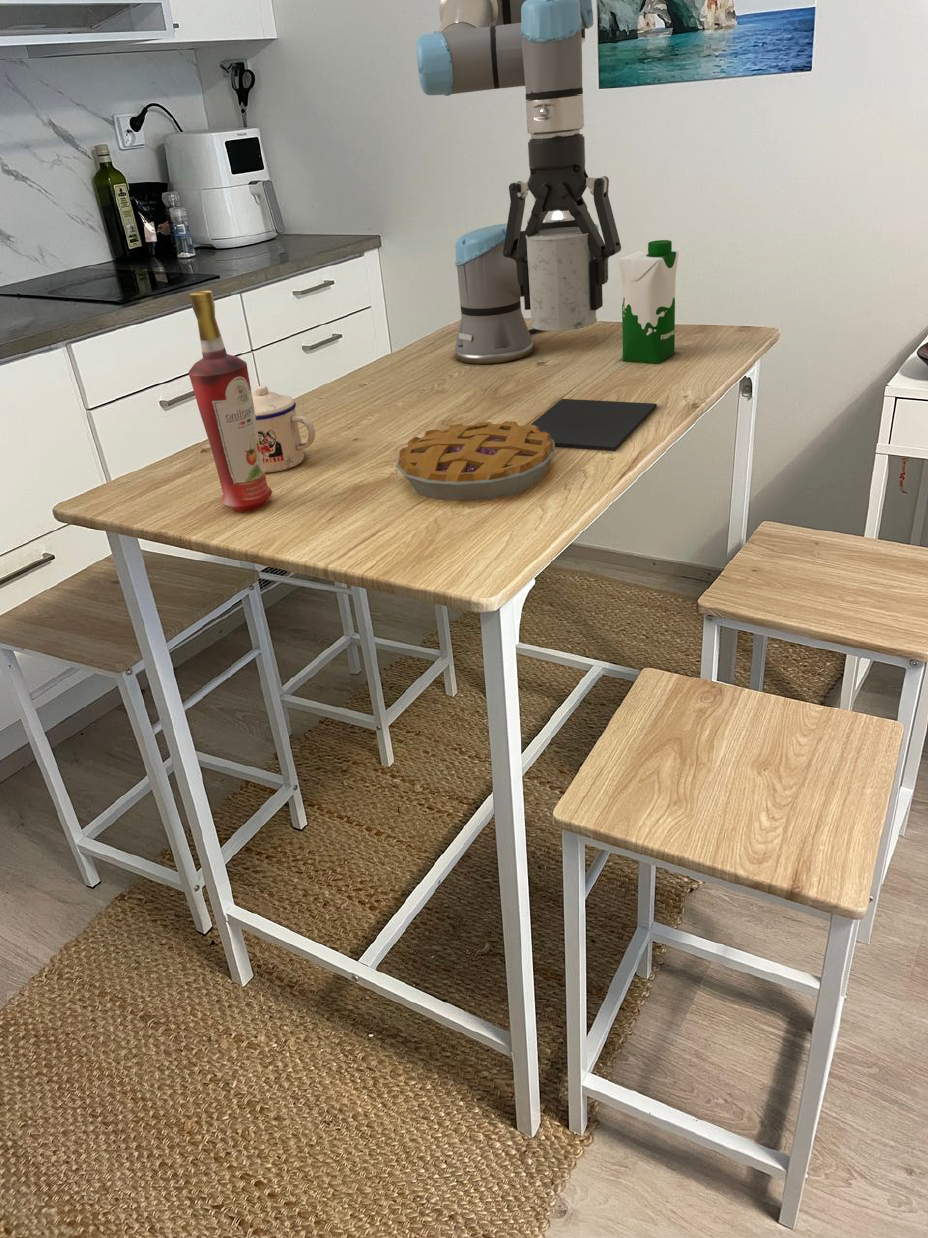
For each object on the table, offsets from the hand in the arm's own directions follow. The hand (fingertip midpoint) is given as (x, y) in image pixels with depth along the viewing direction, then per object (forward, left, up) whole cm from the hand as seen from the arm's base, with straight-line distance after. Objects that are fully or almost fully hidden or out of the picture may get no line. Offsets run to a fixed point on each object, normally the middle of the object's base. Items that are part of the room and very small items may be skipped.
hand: (563, 307), depth 136 cm
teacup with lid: (+24, -36, -18) cm, 47 cm away
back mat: (-1, +3, -18) cm, 18 cm away
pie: (+22, -5, -18) cm, 29 cm away
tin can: (0, 0, -2) cm, 2 cm away
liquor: (+39, -31, -18) cm, 53 cm away
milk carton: (-39, +1, -18) cm, 43 cm away
